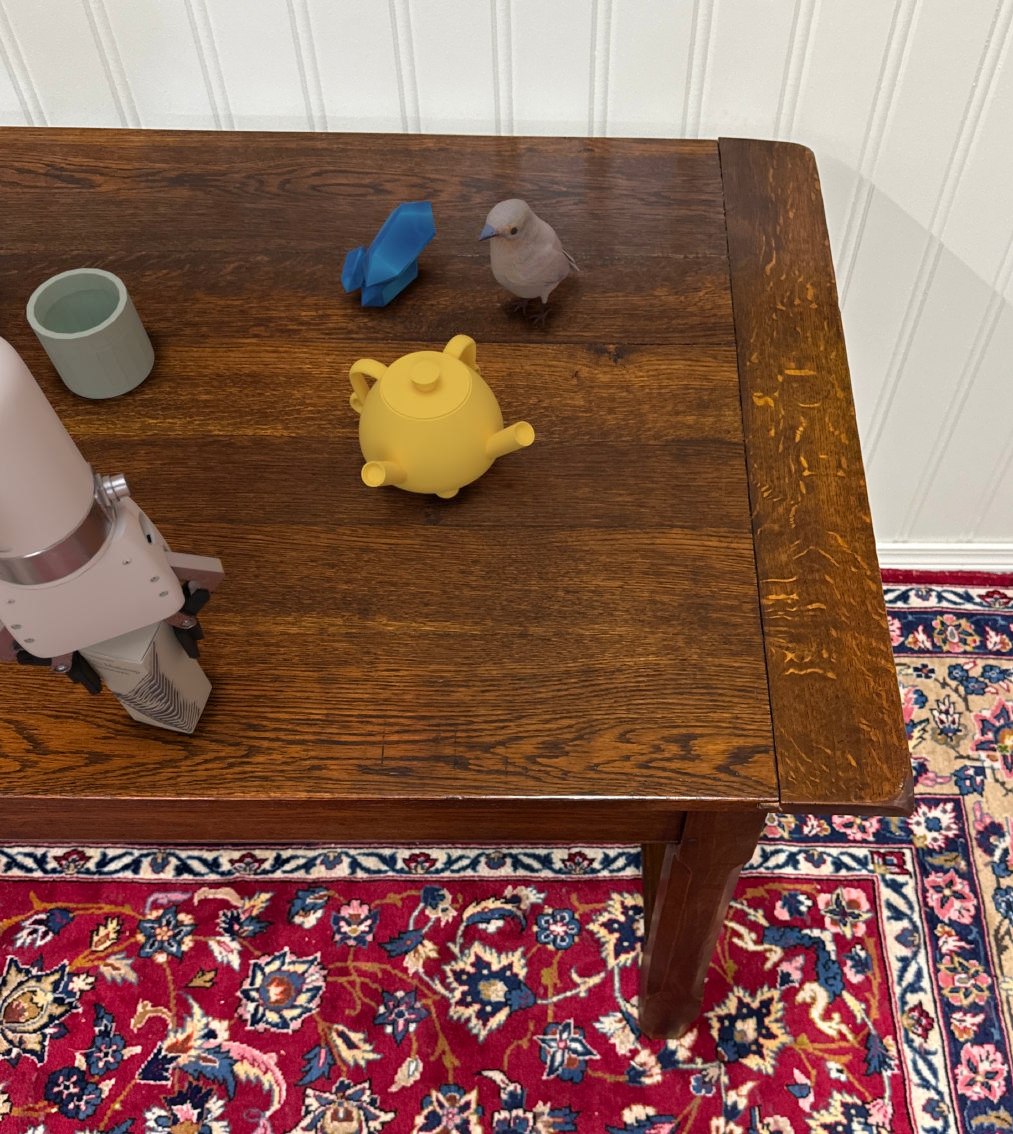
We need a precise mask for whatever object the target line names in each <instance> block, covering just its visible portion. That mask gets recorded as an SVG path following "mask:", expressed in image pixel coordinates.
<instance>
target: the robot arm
mask: <svg viewBox="0 0 1013 1134" xmlns="http://www.w3.org/2000/svg"><path fill="white" fill-rule="evenodd" d="M50 403H51V402H49V400H48V398H47V397H46V395H45V393H44V392H43V390H42V389H41V386H40V385H39V383H38V381H36V379H35V377H34V376H33V374H32V373H31V371H30V370H29V368H28V366H27V364H26V362H24V360H23V358H22V357H21V356H20V355H19V353H18V352H17V350H16V349H15V348H14V347H13V346H12V345H11V343H9V342H8V341H7V340H6V339H4V338H3V337H2V336H0V662H12V661H16V662H17V664H18V665H21V666H35V667H50V668H51V672H52V673H54V674H56V675H57V674H58V675H59V674H65V675H66V676H67V677H68V678H69V679H70V680H71V682H72V683H74V684H75V685H77V684H81V685H82V686H83V687H84V688H85V690H87V692H88V693H89V694H91V696H92V697H94V696H97V695H100V694H101V692H102V691H103V690H104V688H103V685H102V679H101V678H100V677H99V676H98V674H97V673H96V672H95V671H94V670H93V668H92V667H91V666H90V665H89V663H88V662H87V661H86V660H85V659H84V657H83V656H82V655H81V654H80V653H79V651H78V650H79V649H82V648H85V647H88V646H91V645H94V644H97V643H100V642H102V641H105V640H108V639H111V638H114V637H117V636H120V635H122V634H125V633H128V632H131V631H134V630H136V629H139V628H142V627H145V626H147V625H150V624H153V623H156V622H158V621H161V620H162V621H164V622H166V623H169V624H171V625H172V626H173V630H174V634H175V636H176V638H177V640H178V641H179V643H180V644H181V646H182V647H183V649H184V650H185V652H186V653H187V655H188V656H189V658H190V659H191V658H193V659H196V660H197V659H199V658H202V656H201V655H202V654H201V652H200V649H199V645H198V642H197V641H200V640H203V639H205V635H204V631H203V628H202V626H201V623H200V621H199V618H198V616H197V615H198V614H199V613H200V611H201V610H202V609H203V608H204V607H205V606H206V604H207V603H208V602H209V601H210V600H211V593H212V592H214V591H215V590H216V589H217V588H218V587H219V585H221V583H222V582H223V580H224V579H225V578H226V575H227V574H226V571H225V569H224V568H225V567H224V565H223V561H222V559H221V558H219V557H212V556H205V555H197V554H190V553H182V552H174V551H172V550H171V547H170V546H169V544H168V542H167V541H166V539H165V538H164V537H163V535H162V534H161V532H160V531H159V530H158V528H157V527H156V526H155V524H154V523H153V521H152V520H151V519H150V518H149V517H148V515H147V514H146V512H144V511H143V509H141V507H140V506H139V505H138V504H137V503H136V502H135V501H134V500H133V499H132V498H131V497H130V496H132V495H133V489H132V487H131V485H130V482H129V479H128V477H127V476H126V474H125V472H122V473H119V474H115V475H112V476H111V475H110V474H108V475H105V476H104V475H103V474H102V473H100V472H97V471H96V469H95V468H94V466H93V465H92V463H91V461H88V462H87V461H86V460H85V458H84V456H83V455H82V453H81V451H80V450H79V448H78V447H77V445H76V443H75V441H74V440H73V438H72V436H70V434H69V432H68V431H67V429H66V428H65V426H64V424H63V422H62V421H61V419H60V418H59V415H58V414H57V412H56V411H55V409H54V407H52V405H51V404H50ZM180 580H181V581H182V580H183V581H184V582H183V583H182V585H181V582H180Z"/></svg>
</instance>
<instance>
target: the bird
mask: <svg viewBox="0 0 1013 1134" xmlns="http://www.w3.org/2000/svg"><path fill="white" fill-rule="evenodd" d="M486 240H489V250H490V251H489V252H490V270H491V272H492V274H493V276H494V279H495V280H496V281H497V282H498V284H499V285H500V286H502V287H503V288H504V289H505V290H507V291H509V292H510V293H511V294H514V295H515V296H517V297H520V298H521V300H520V301H514V302H513V303H510V305H509V306H508V307H509V308H510V307H512V306H516V307H515V309H514V310H513V313H516V311H517V310H518V309H520V308H522V312H523V315H524V316H526V311H527V307H528V303H529V301H530V300H531V299H534V298H538V297H540V298H541V301H542V302H541V306H540V313H538V314H537V313H536V314H533V315H531V316H529V317H528V318H527V319H528V320H529V319H533V318H535V319H534V320H533V323H532V326H533V325H535V324H536V323H537V322H539V321H541V324H542V328H543V329H544V328H545V324H546V323H545V321H546V318H547V315H548V314H549V313H550V311H553V308H548V309H547V310H545V306H546V303H547V302H548V298H549V295H550V293H551V292H552V291H554V290H555V289H556V288H557V287H558V285H559V284H560V282H562V281H563V280H564V279H565V278H567V276H568V275H569V273H570V272H571V273H575V270H576V271H577V272H581V270H580V268H579V267H578V265H577V264H576V263H577V262H576V261H575V259H574V257H572V256H571V253H570V252H569V251H568V250H567V249H566V248H565V247H564V246H563V245H562V241H561V239H560V238H559V237H558V235H557V233H556V231H555V229H554V228H553V227H552V226H551V225H549V224H548V223H547V222H545V221H544V220H542V219H541V218H540V217H538V215H536V214H535V213H534V211H533V210H532V209H531V207H530V206H529V204H528V203H527V202H526V201H525V200H523V199H520V198H511V199H507V200H502V201H500V202H499V203H497V204H496V205H494V206H493V207H492V209H491V210H490V211H489V212H488V214H487V216H486V219H485V224H484V226H483V229H482V230H481V233H480V235H479V236H478V239H477V243H479V242H480V243H481V242H484V241H486ZM574 269H575V270H574Z"/></svg>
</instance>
